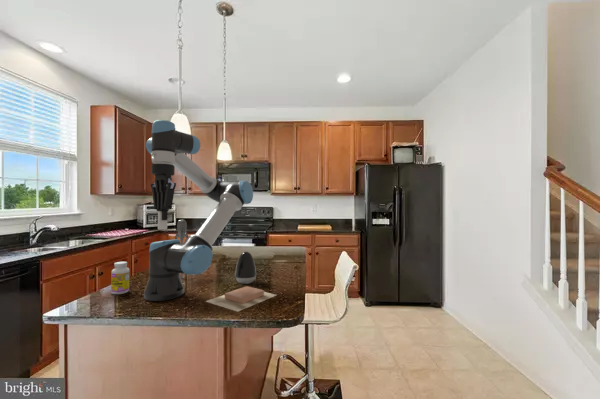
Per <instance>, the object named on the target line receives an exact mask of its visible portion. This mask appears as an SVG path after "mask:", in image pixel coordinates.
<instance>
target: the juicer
mask: <svg viewBox="0 0 600 399" xmlns="http://www.w3.org/2000/svg"><path fill="white" fill-rule="evenodd" d="M176 227H177V228H176V230H177V232H176V233H175V237H174V239H178V238H179V240H180V243H181V244H183V243H184V240H186V239H187V238H188V237H189V234H188V232H187V228H188V225H187V221H186V220H185V219H179V220H178V221H177V224H176ZM185 238H186V239H185ZM183 274H184V273H180V278H182V279H183V276H184V275H183Z"/></svg>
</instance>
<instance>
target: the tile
mask: <svg viewBox="0 0 600 399" xmlns="http://www.w3.org/2000/svg"><path fill="white" fill-rule="evenodd" d="M264 292H265V290H264V289H259V288H255V287H252V286H248V285H246V286H243V287H240V288H237V289H234V290H232V291H228V292H225V293H224V295H225V299H228V300H232V301H235V302H238V303H242V304H243V303H246V302H248V301H251V300H253V299H256V298H258V297H261V296H263V295H264Z"/></svg>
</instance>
